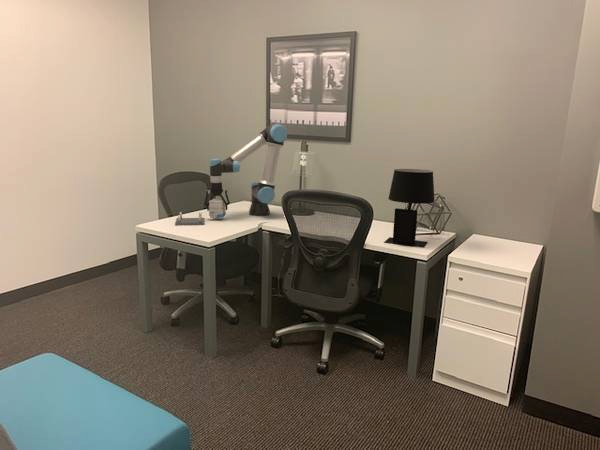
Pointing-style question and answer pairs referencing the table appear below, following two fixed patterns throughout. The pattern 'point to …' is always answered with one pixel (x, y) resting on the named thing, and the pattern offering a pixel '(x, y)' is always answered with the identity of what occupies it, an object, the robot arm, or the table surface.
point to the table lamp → (409, 190)
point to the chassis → (190, 220)
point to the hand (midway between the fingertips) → (217, 215)
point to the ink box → (217, 208)
